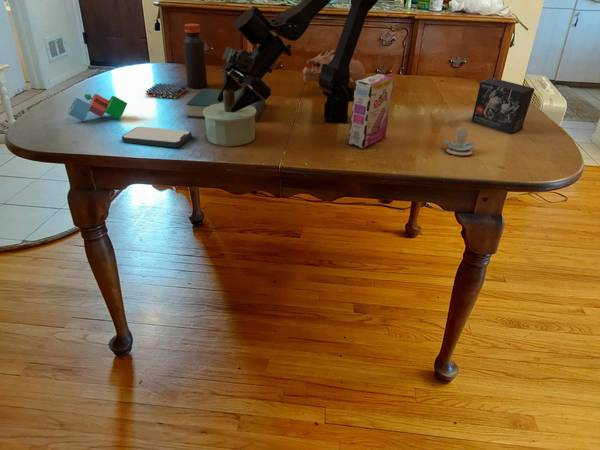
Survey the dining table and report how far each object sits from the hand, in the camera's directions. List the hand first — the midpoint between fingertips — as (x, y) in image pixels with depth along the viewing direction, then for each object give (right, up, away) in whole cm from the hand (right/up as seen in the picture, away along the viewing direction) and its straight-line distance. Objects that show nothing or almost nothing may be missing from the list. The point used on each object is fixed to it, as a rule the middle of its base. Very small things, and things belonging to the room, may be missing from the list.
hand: (224, 106), depth 115 cm
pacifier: (+59, -12, +1) cm, 61 cm away
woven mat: (-25, +13, +36) cm, 46 cm away
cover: (+1, -1, +2) cm, 2 cm away
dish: (+1, -7, +5) cm, 9 cm away
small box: (+77, -1, +19) cm, 79 cm away
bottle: (-17, +18, +44) cm, 51 cm away
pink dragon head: (+31, +16, +43) cm, 55 cm away
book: (-3, +4, +23) cm, 23 cm away
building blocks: (-37, -1, +13) cm, 39 cm away
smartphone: (-18, -8, +2) cm, 20 cm away
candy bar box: (+37, -8, +5) cm, 38 cm away
